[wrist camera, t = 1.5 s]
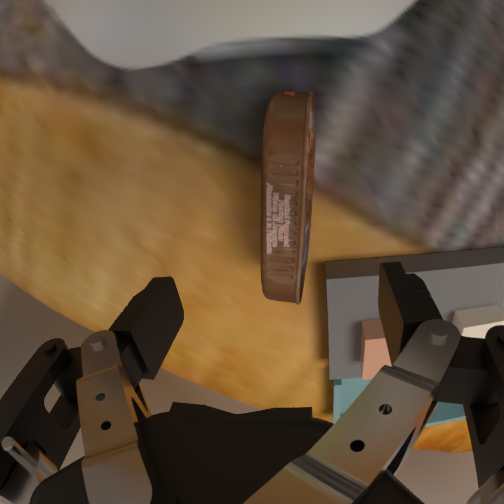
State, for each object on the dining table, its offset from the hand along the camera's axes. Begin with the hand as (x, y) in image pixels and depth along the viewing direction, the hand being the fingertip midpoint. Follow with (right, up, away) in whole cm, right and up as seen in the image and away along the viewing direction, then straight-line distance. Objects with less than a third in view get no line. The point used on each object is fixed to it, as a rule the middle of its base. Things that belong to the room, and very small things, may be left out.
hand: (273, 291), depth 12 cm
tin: (+3, +7, +14) cm, 16 cm away
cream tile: (+20, -6, +13) cm, 25 cm away
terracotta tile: (+12, -7, +15) cm, 20 cm away
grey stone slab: (+16, -4, +16) cm, 23 cm away
